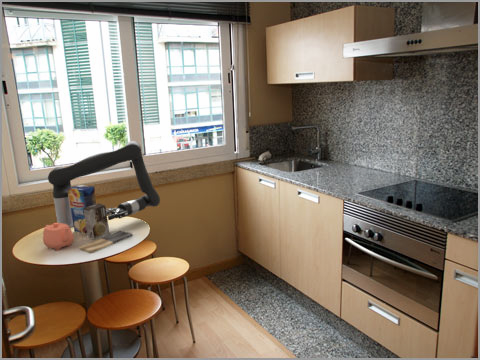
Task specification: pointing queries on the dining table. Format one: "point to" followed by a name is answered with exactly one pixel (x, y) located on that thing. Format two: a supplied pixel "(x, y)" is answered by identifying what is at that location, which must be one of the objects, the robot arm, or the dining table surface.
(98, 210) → the coffee box
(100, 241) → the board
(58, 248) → the teapot
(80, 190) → the juice carton
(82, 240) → the dining table surface
